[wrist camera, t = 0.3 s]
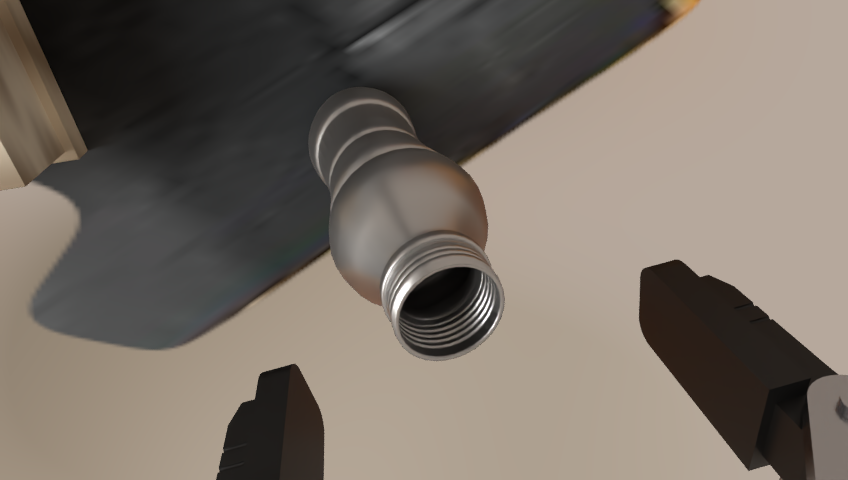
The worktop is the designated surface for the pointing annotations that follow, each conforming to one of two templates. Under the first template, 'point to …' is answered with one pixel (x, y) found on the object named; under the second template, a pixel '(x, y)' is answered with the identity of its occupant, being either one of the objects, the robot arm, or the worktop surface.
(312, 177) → the worktop surface
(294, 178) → the worktop surface
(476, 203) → the silver bottle
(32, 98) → the wooden tray
